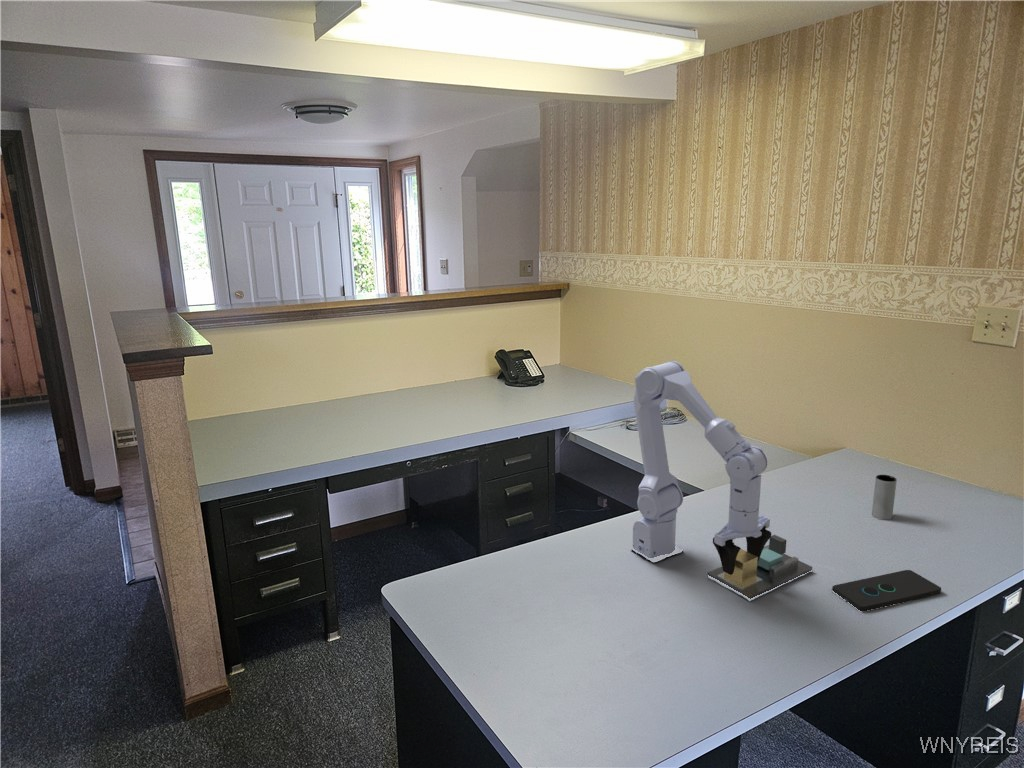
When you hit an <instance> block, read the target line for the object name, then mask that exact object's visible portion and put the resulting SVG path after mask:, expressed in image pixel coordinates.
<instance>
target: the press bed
mask: <svg viewBox="0 0 1024 768" xmlns="http://www.w3.org/2000/svg"><path fill="white" fill-rule="evenodd" d="M766 548H767V549H769V544H767V545H765V546H764V548H763V550H764V549H766ZM781 555H782V556H783V560H782V562H781V563H779V564H777V565H774V566H772V567H770V570H767V569H765V568H763V567H761V566H759V565H757V575H756V579H755V580H753V581H750V582H748V583H746V584H744V585H740V584H738V583H736V582H734V581H732V580H731V579H729V578H727V577H725V576H724V571H723V568H722V566H720V567H717V568H716V569H712V570H711V571H709V572H707V575H709V576H711V577H713V578H715V579H717V580H719V581H720V582H722V583H724V584H726V585H728V586H729V587H731V588H733V589H734V590H736V591H738V592H740V593H742V594H743V595H745V596H747V597H748V598H750V599H751V598H753V597H755V596H757V595H760V594H762V593H764V592H766V591H769V590H771V589H773V588H775V587H777V586H779V585H781V584H783V583H786V582H788V581H789V580H792V579H794V578H796V577H798V576H800V575H802V574H805V573H807V572H809V571H811V570H812V571H813V566H812V565H809V564H807V563H805V562H803V561H801V560H799V557H796V556H790V555H788V554H785V553H784V554H781Z"/></svg>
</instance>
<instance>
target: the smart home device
mask: <svg viewBox="0 0 1024 768" xmlns="http://www.w3.org/2000/svg"><path fill="white" fill-rule="evenodd" d="M832 590H833V591H834V592H835V593H837V594H838V595H839V596H841V597H842V598H843V599H845V600H846V601H847V602H849V603H850V604H852V605H853V606H854V607H856V608H857V609H858V610H860V611H866V612H868V611H867V610H870V611H872V610H871V609H874V610H877V609H876V608H879V609H881V608H880V607H883V608H886V607H885V606H887V607H890V605H892V606H894V605H893V604H896V605H899V604H898V603H900V604H904V603H908V601H909V602H913V601H918V600H921V599H924V598H925V599H926V598H929V597H934V596H938V595H940V594H941V592H942V587H941V586H939V585H938V584H936V583H934V582H932V581H931V580H929V579H927V578H925V577H924V576H923V575H922V576H921V575H920V574H919V573H917V572H915V571H914V570H911V569H905V570H904V569H903V570H899V571H895V572H890V573H889V572H888V573H886V574H881V575H876V576H870V577H867V578H862V579H857V580H853V581H847V582H843V583H839V584H835V585H834V584H833V586H832V589H831V591H832ZM843 599H842V600H843ZM847 602H846V603H847ZM903 602H904V603H903ZM850 604H849V605H850ZM853 606H852V607H853ZM854 607H853V608H854ZM857 609H856V610H857ZM858 610H857V611H858ZM860 611H859V612H860Z"/></svg>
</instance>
